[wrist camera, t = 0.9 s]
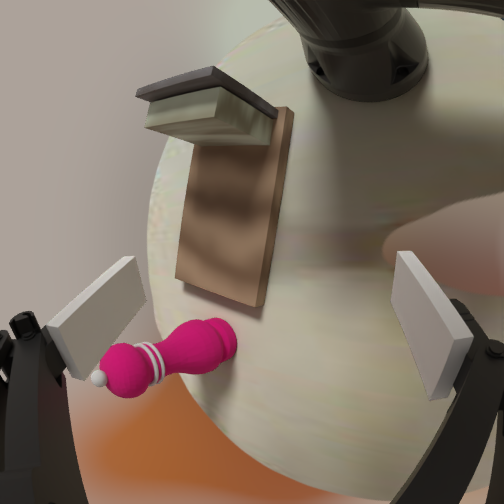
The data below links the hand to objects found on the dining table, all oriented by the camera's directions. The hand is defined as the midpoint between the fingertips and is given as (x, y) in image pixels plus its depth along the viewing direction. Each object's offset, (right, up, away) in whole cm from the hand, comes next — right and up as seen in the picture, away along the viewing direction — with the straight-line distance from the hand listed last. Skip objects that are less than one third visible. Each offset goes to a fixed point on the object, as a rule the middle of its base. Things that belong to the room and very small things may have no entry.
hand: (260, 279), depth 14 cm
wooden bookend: (-3, +8, +25) cm, 26 cm away
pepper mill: (-5, -11, +27) cm, 29 cm away
